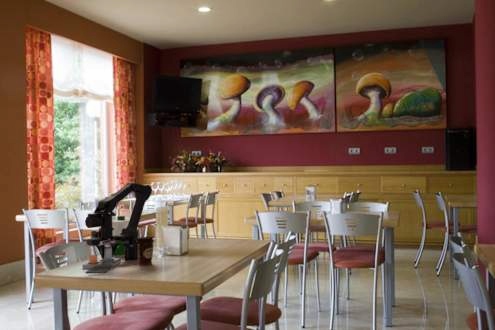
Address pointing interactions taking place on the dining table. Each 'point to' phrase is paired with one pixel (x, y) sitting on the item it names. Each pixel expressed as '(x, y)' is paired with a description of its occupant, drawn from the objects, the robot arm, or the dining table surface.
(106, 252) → the cartridge
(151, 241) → the coffee cup
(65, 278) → the dining table surface
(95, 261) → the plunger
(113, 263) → the housing
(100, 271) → the mat
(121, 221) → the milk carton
